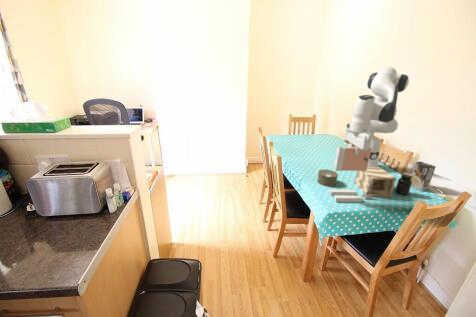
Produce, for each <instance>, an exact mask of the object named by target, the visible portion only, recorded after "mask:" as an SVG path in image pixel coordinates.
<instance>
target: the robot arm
mask: <svg viewBox="0 0 476 317" xmlns="http://www.w3.org/2000/svg"><path fill="white" fill-rule="evenodd" d="M409 81H410V80H409V76H408V75H407V74H403V73H401V74H400V73H397V70H396V68H394V67H393V66H386V67H383V68H381V70H379V71H378V72H373V73H371V74H370V75H369V77H368V79H367V82H366V83H367V87H368V89H370V90H371V92H372V93H373V94H374V95H375V96H374V95H370V94H363V95H359V96H358V97H357V99H356V100H355V105H354V107H353V112H352V113H353V117H352V120H351V122H349V123H346V124H345V125H346V126H345V127H346V129H345V133H344V134H345V135H344V139H345V140H346V141H347V142H349V143H350V147H356V150H355V151H354V153H355V154H359V151H360V150H369V149H370V148H371V153H370V158H369V162H368V166H367V167H380V166H379V162H380V157H379V156H380V149H381V146H382V140H381V139H380V138H379V137H377V136H376V135H375V133H376V134H377V133H379V134H393V133H395V132H396V130H397V129H398V127H399V123H398V121H397V119H395V118H396V116H397V112H398V111H397V102H398V96H399V93H402V92H404V91H405V90H406V89H407V88H408V86H409Z"/></svg>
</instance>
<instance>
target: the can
mask: <svg viewBox="0 0 476 317" xmlns="http://www.w3.org/2000/svg"><path fill="white" fill-rule="evenodd" d="M338 176H339V174H338V172H337V171H335V170H331V169H320V170H318V175H317V183H318V184H319V185H321V186H324V187H336V185H337V180H338Z"/></svg>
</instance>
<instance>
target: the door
mask: <svg viewBox="0 0 476 317" xmlns="http://www.w3.org/2000/svg"><path fill="white" fill-rule="evenodd" d="M355 150H356V146H355V147H351V146H336V152H335V158H334V161H333V162H334V163H333V167H332V168H333V171H334V172H337V171H338V172H341V171H342V172H345V171H350V172H353V171H354V172H356V171H366V170H367V166H368V162H369V158H370V153H371V148H370V149H369V150H360V151H359V154H355V153H354V151H355Z"/></svg>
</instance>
